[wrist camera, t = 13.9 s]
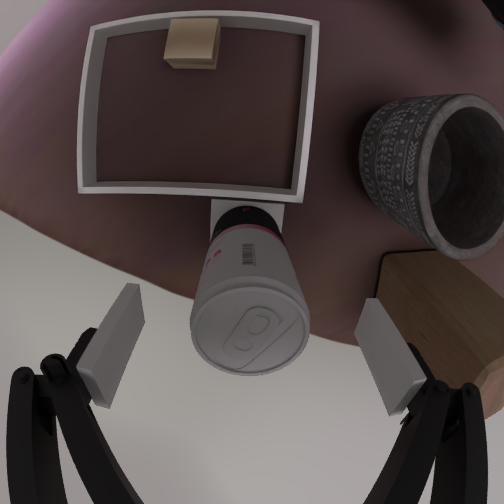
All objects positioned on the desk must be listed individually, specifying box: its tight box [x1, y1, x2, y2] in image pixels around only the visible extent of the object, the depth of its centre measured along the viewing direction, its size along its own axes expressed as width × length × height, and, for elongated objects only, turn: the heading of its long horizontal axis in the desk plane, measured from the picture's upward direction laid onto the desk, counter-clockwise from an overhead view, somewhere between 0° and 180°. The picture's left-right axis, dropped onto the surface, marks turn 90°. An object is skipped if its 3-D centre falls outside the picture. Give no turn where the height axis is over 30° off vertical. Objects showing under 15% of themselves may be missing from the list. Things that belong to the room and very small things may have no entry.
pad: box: [210, 199, 285, 241], centre depth 28 cm, size 7×7×1 cm
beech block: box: [163, 18, 221, 69], centre depth 19 cm, size 4×4×4 cm
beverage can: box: [190, 206, 310, 376], centre depth 21 cm, size 7×6×15 cm
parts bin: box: [77, 10, 320, 203], centre depth 21 cm, size 17×21×3 cm
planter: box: [359, 94, 504, 261], centre depth 19 cm, size 12×12×13 cm
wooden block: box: [376, 250, 504, 420], centre depth 22 cm, size 10×10×20 cm
